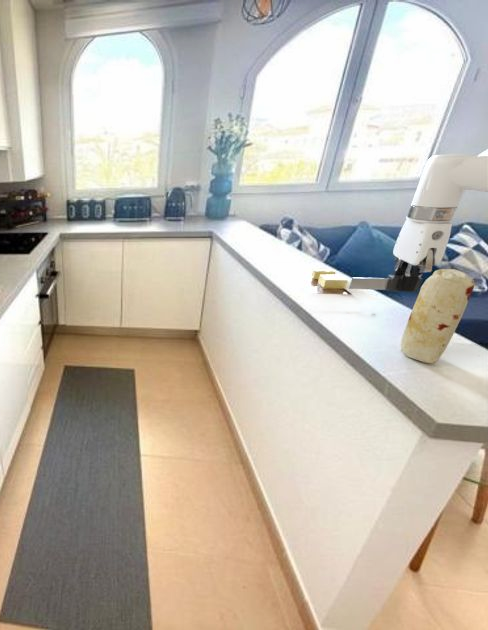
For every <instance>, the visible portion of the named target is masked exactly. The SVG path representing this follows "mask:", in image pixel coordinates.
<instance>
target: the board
mask: <svg viewBox="0 0 488 630" xmlns="http://www.w3.org/2000/svg"><path fill="white" fill-rule="evenodd" d="M291 278H292V279H293V280H294V281H295V282H296V283H297V284H298V285H299V286H300V287H301V288H302V289H303V290H304V291H305V292H306V294H321V295H322V294H324V295H325V294H326V295H352V293H351V292H350V291H349V290H347V289H346V288H345V289H332V288H323V287H322V286H321V285H319V284H318V280H319V279H313V278H312V276H302V275H301V276H299V275H297V276H295V275H294V276H293V275H291Z"/></svg>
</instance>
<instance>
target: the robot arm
mask: <svg viewBox="0 0 488 630" xmlns="http://www.w3.org/2000/svg"><path fill="white" fill-rule="evenodd" d="M465 190H466V191H476V192H484V193H488V148H487V149H486V150H484V151H483V152H481V153H480V154H479V155H474V154H471V153H446V154H444V153H443V154H436V155H433V156H430V158H429V159H428V160H427V161H426V163H425V166H424V168H423V171H422V174H421V176H420V179H419V181H418V185H417V187H416V190H415V192H414V196H413V199H412V201H411V204H410V206H409V210H408V212H407V215H406V218H405V222H404V223H403V225H402V227H401V229H400V232H399V233H398V236H397V238H396V241H395V244H394V247H393V249H392V250H393V251H392V254H393V258H394V260H395V265H394V273H393V275H402V277H401V280H400V282H399V285H398V287H397V290H398V291H414V288H415V286H416V284H417V281H418V279H419V277H421V278H422V276H423V274H425V273H431V272H432V271H433V267H438V266H439V265H440V264H441V262H442V260H443V258H444V255H445V253H446V250H447V247H448V243H449V240H450V238H451V237H450V236H451V232H452V227H453V223H452V221H453V218H454V217H455V215H456V212H457V209H458V207H459V205H460V202H461V200H462V197H463V196H464V193H465Z"/></svg>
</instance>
